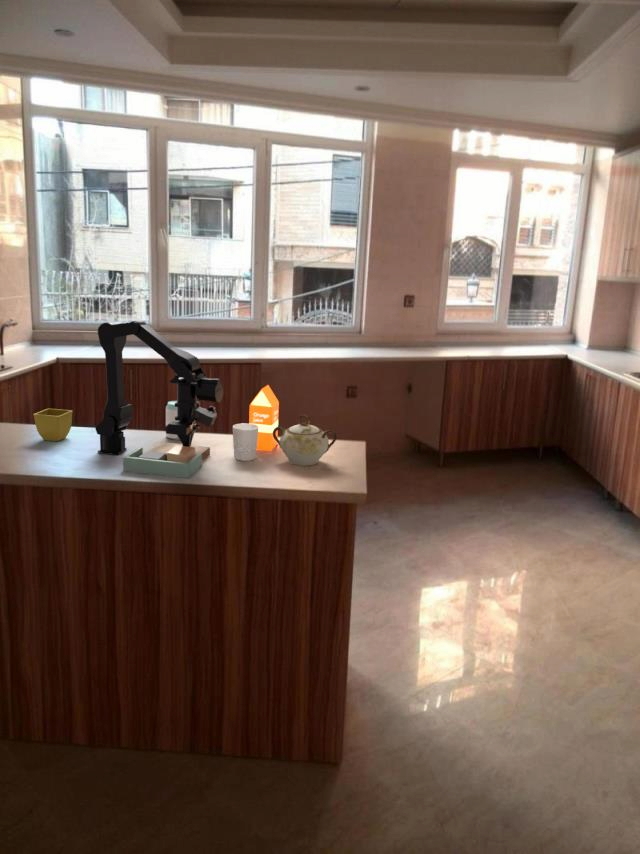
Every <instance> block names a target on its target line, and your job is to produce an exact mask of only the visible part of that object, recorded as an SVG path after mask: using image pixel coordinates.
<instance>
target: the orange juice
mask: <svg viewBox="0 0 640 854" xmlns="http://www.w3.org/2000/svg"><path fill="white" fill-rule="evenodd" d="M279 406H280V402H279V400H278V398H277V397H276V395H275V393H274V392H273V390H272V388H271V387H270V385H269V384H267V385H266V386H264V387H262V388H261V389H260V391H259V392H258V394H256V396H255V397H254V399H253V400H252V401H251V403H250V404H249V415H248V416H249V417H248V418H249V419H248V421H249V422H248V424H255V425H257V426H258V427H259V429H258V442H257V450H256V451H258V450H259V451H267V452H271V451H272V450H273V449H274V448H275V447H276V446H277V445H278V443H277V441H276V440H275V439H274V437H273V430H274V429H275V428H276V427H279V412H280V411H279V409H280V407H279ZM278 431H279V430H277V431H276V437H277V438H278V436H279V434H278Z"/></svg>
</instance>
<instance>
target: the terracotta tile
mask: <svg viewBox="0 0 640 854" xmlns="http://www.w3.org/2000/svg"><path fill="white" fill-rule="evenodd" d="M194 456H195V448H194V447H187V446H180V445H176V446H175V447H173V448H172V449H171V450H170V451H168V452H167V461H173V462H181V463H187V462H188V461H190V460H191V459H192V458H193V457H194Z"/></svg>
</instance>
